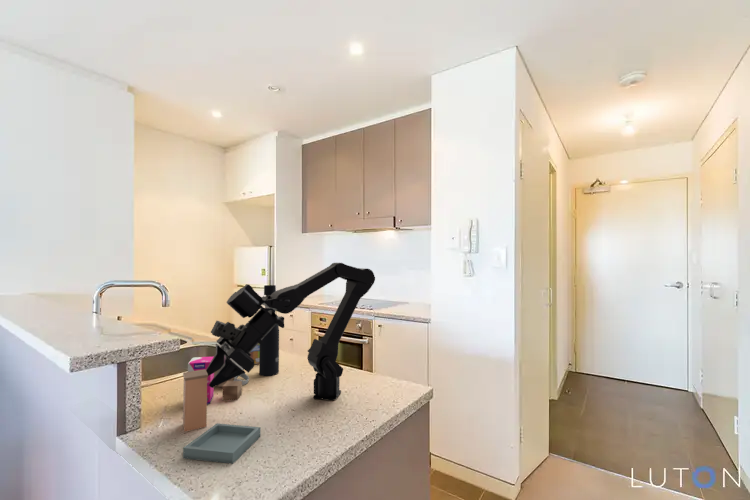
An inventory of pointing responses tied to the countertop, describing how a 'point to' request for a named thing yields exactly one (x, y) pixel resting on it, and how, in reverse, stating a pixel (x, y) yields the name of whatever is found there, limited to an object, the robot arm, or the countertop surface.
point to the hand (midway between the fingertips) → (207, 380)
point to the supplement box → (202, 364)
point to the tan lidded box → (195, 400)
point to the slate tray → (222, 443)
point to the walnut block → (232, 390)
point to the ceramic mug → (235, 379)
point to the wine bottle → (269, 345)
